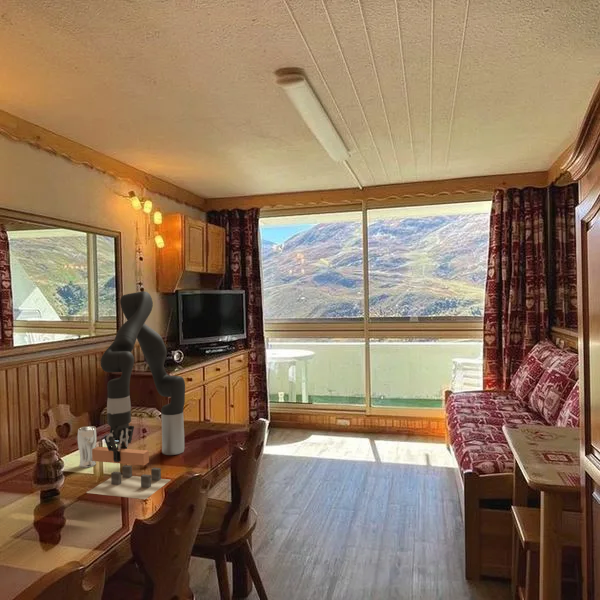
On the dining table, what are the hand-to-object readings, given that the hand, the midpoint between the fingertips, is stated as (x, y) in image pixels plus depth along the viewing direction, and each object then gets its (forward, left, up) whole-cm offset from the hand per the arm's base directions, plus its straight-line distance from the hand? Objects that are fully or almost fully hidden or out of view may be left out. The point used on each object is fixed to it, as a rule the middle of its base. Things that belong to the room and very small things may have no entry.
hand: (120, 459), depth 161 cm
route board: (-5, 0, -13) cm, 14 cm away
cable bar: (0, 0, -1) cm, 1 cm away
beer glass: (-22, -31, -13) cm, 40 cm away
